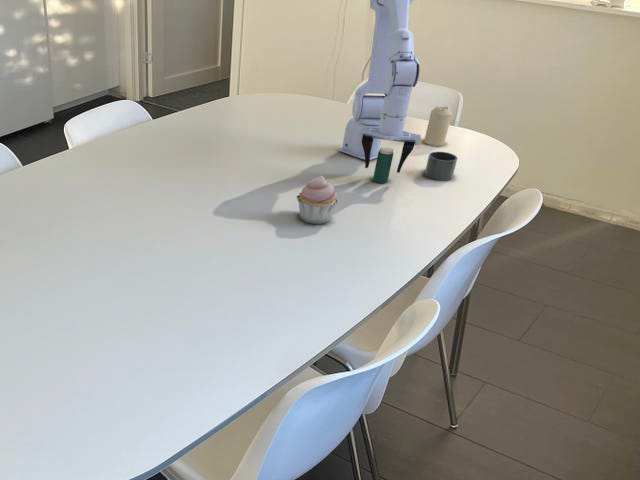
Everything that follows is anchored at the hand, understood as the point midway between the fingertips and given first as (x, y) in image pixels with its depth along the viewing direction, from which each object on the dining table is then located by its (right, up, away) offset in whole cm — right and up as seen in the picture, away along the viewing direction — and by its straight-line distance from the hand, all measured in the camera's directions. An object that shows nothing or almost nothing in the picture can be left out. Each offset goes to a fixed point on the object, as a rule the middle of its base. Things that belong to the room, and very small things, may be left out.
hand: (382, 168), depth 182 cm
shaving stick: (0, -2, +2) cm, 3 cm away
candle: (+22, +14, +26) cm, 37 cm away
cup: (+16, 0, +5) cm, 17 cm away
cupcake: (-21, -16, -18) cm, 32 cm away
